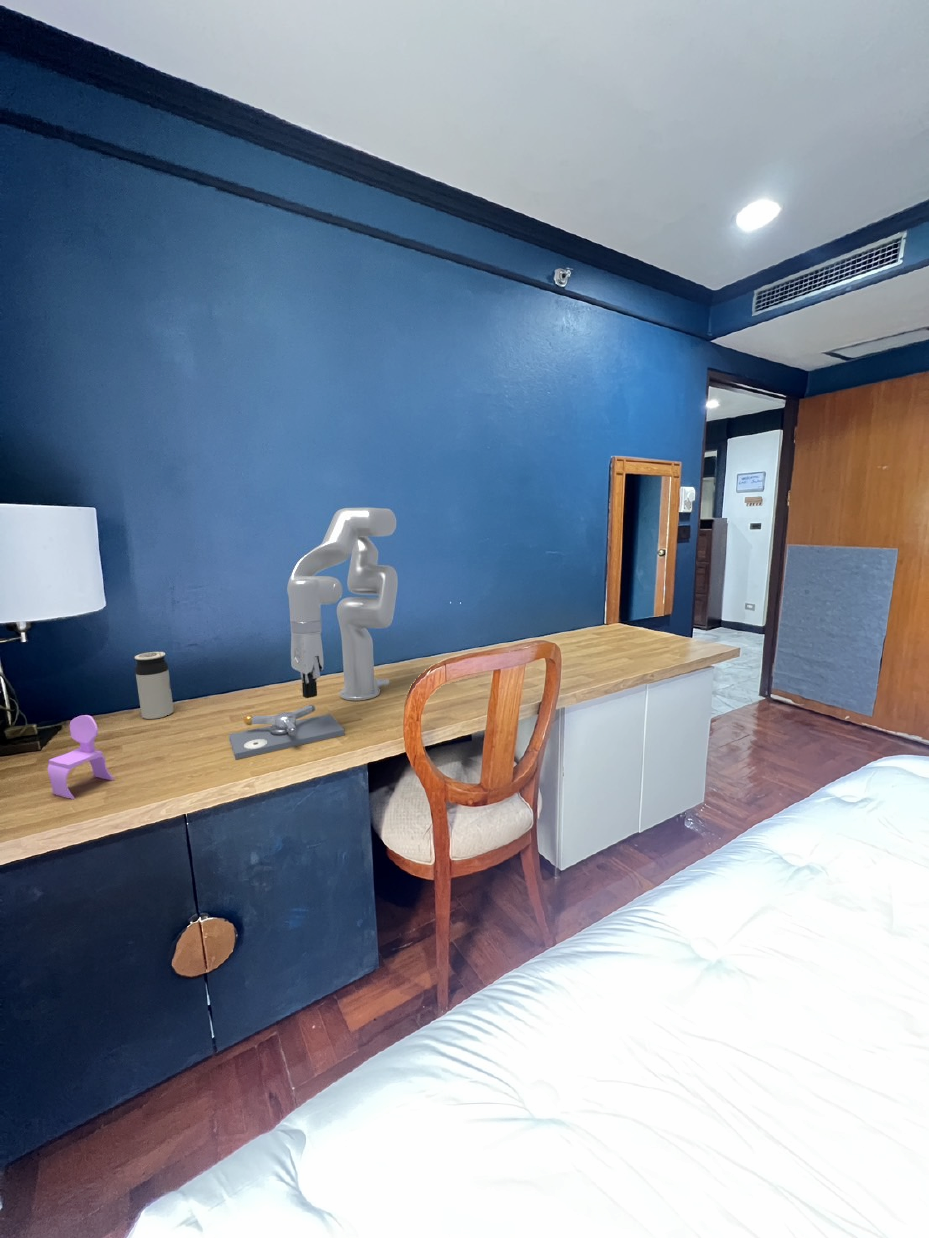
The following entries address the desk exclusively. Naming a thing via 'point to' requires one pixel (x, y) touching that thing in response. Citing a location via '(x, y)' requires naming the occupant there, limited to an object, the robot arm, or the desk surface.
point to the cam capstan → (281, 720)
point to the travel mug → (153, 685)
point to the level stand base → (284, 736)
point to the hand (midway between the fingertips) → (310, 696)
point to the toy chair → (78, 756)
